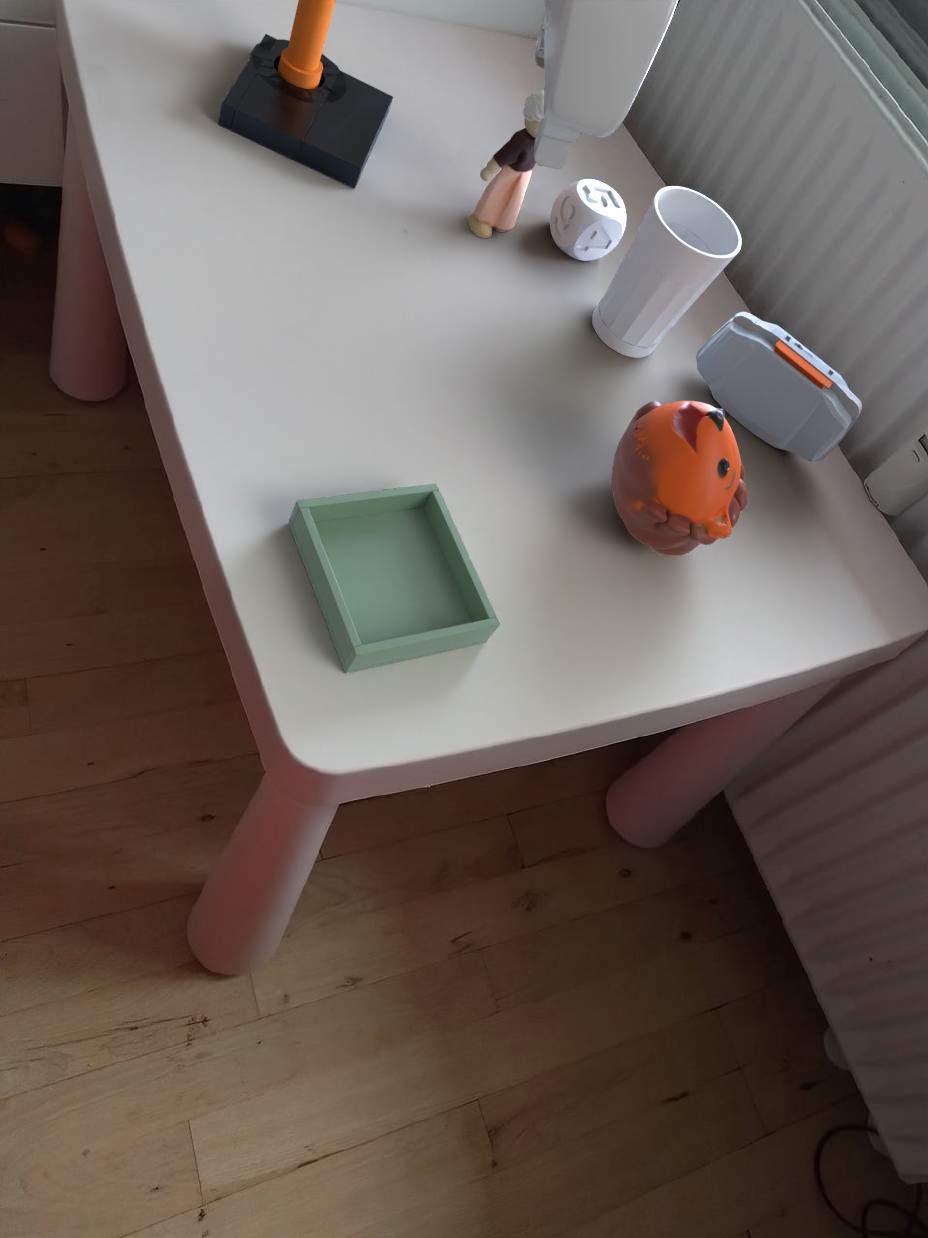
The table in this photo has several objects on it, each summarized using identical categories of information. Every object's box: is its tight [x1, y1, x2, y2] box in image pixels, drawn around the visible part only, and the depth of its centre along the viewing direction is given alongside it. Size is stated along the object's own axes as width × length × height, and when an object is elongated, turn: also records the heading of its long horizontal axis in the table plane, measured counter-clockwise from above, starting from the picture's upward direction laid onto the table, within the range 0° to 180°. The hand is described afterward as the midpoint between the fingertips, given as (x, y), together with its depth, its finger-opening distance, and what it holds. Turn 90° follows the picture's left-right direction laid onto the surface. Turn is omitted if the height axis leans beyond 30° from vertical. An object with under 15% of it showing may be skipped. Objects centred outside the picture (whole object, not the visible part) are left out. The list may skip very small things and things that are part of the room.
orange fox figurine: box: [611, 400, 749, 557], centre depth 71 cm, size 12×10×11 cm
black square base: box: [217, 33, 394, 189], centre depth 84 cm, size 12×13×2 cm
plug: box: [277, 0, 336, 89], centre depth 81 cm, size 4×4×12 cm
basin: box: [287, 483, 501, 674], centre depth 63 cm, size 11×10×2 cm
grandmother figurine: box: [466, 89, 545, 239], centre depth 82 cm, size 8×4×13 cm, turn 143°
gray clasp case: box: [695, 311, 863, 463], centre depth 84 cm, size 14×3×8 cm, turn 56°
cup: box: [591, 185, 742, 359], centre depth 82 cm, size 8×8×12 cm
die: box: [549, 178, 627, 262], centre depth 88 cm, size 5×5×5 cm
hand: (547, 109), depth 56 cm, fingers open, 8 cm apart
